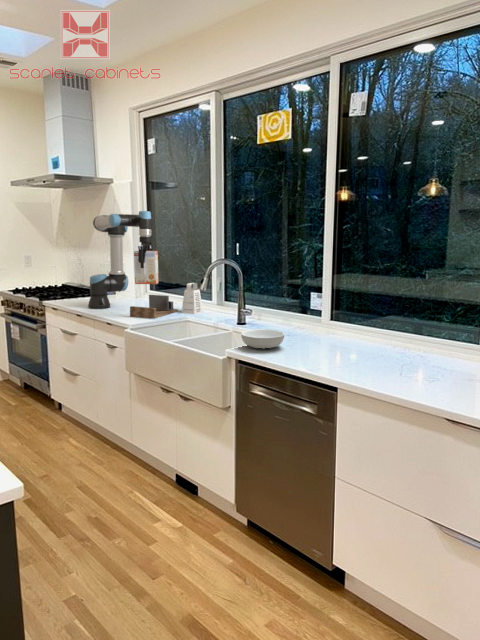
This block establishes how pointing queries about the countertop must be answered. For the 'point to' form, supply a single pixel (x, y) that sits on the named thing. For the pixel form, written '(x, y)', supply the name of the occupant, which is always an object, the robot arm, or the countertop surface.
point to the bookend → (160, 302)
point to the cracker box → (146, 268)
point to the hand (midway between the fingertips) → (146, 272)
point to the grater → (192, 300)
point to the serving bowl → (262, 338)
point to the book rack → (149, 312)
